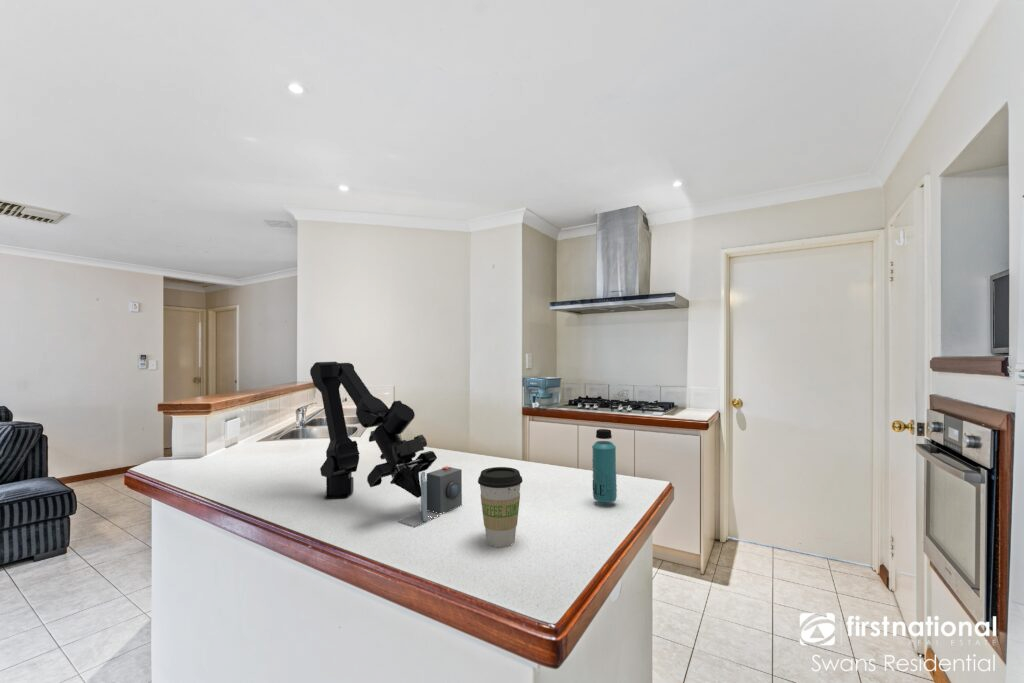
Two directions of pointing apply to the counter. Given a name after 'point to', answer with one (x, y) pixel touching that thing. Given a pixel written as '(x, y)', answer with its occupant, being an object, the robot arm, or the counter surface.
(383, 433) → the robot arm
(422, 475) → the side door
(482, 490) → the coffee cup
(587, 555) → the counter surface
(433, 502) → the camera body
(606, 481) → the beverage bottle
